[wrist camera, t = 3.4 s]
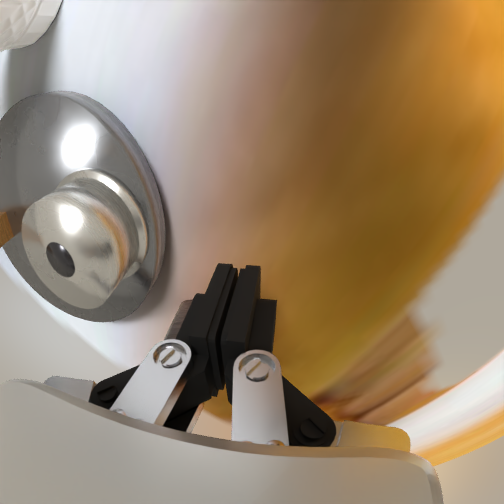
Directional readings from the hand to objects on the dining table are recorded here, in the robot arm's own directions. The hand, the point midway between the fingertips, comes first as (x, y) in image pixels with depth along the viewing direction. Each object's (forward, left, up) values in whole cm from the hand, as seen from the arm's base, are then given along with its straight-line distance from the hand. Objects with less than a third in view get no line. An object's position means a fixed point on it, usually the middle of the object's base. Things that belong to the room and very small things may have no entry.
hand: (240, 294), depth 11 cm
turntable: (+15, -1, -7) cm, 17 cm away
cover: (+10, -1, -4) cm, 11 cm away
